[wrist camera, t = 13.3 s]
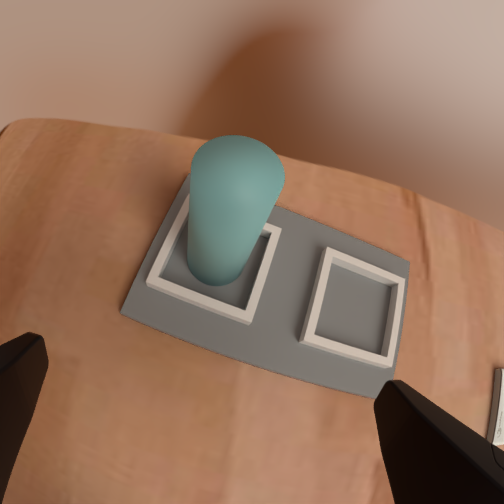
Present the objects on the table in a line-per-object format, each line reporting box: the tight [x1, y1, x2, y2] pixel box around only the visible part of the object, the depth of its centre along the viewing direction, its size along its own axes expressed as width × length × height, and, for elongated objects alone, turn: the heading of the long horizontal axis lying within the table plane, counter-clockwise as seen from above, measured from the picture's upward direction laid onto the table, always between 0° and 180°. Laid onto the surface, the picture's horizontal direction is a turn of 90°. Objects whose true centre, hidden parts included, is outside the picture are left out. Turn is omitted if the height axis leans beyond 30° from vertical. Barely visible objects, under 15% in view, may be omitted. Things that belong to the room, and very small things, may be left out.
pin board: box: [120, 173, 410, 399], centre depth 22 cm, size 20×12×2 cm, turn 72°
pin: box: [187, 135, 285, 286], centre depth 18 cm, size 4×4×10 cm
